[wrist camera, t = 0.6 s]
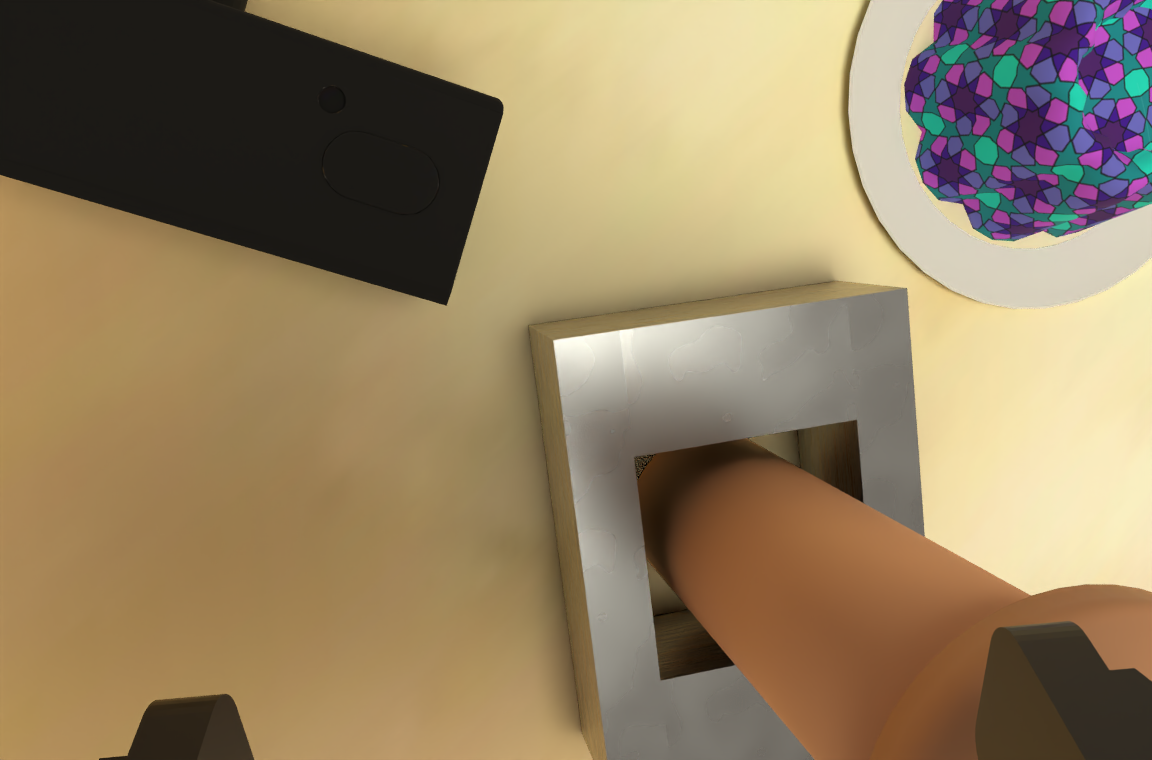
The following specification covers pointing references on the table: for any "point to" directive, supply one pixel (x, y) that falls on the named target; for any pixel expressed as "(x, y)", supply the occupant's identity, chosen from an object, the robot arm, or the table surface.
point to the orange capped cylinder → (850, 604)
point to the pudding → (1011, 141)
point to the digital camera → (246, 134)
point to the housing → (695, 418)
